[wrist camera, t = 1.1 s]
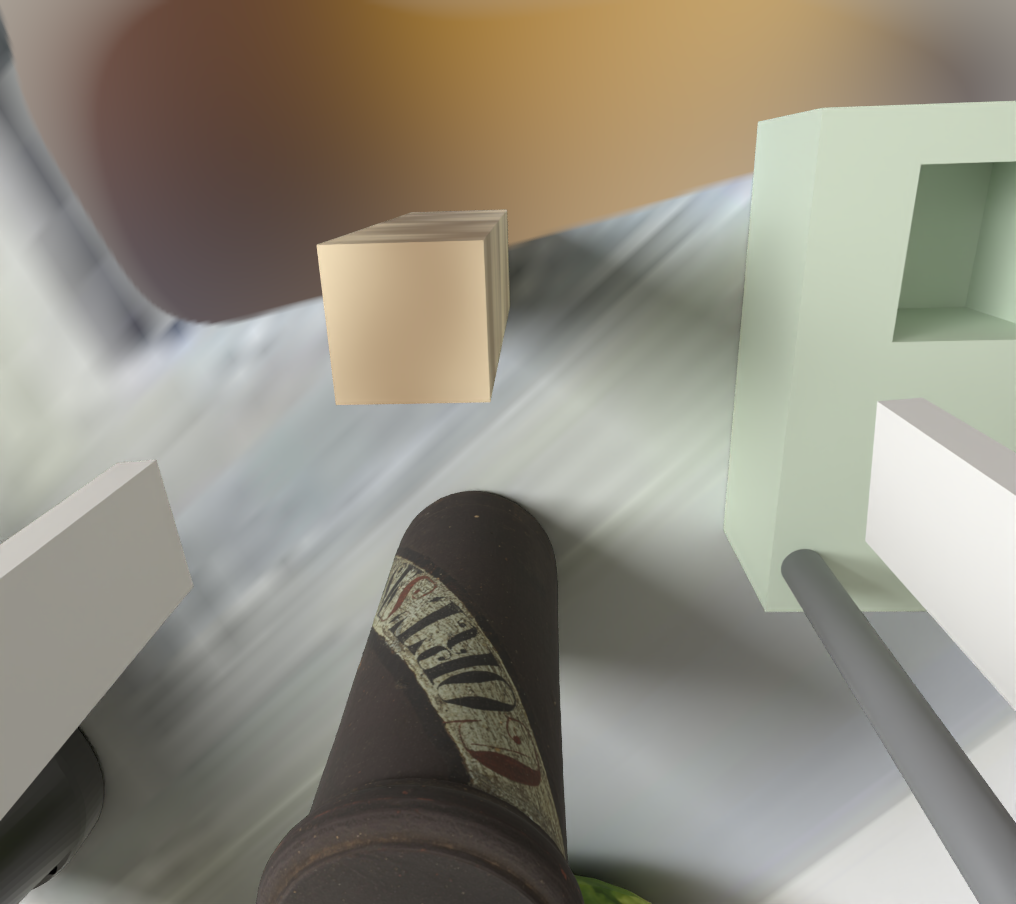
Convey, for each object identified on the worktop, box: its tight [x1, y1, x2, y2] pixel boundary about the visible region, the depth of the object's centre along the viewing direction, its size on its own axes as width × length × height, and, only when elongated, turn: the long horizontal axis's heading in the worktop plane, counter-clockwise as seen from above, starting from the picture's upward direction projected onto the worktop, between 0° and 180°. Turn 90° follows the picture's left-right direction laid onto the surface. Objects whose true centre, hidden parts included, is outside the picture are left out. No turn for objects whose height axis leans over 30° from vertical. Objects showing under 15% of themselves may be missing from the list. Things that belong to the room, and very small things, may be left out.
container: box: [256, 491, 584, 904], centre depth 27 cm, size 9×9×20 cm
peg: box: [317, 210, 510, 405], centre depth 25 cm, size 4×4×14 cm
